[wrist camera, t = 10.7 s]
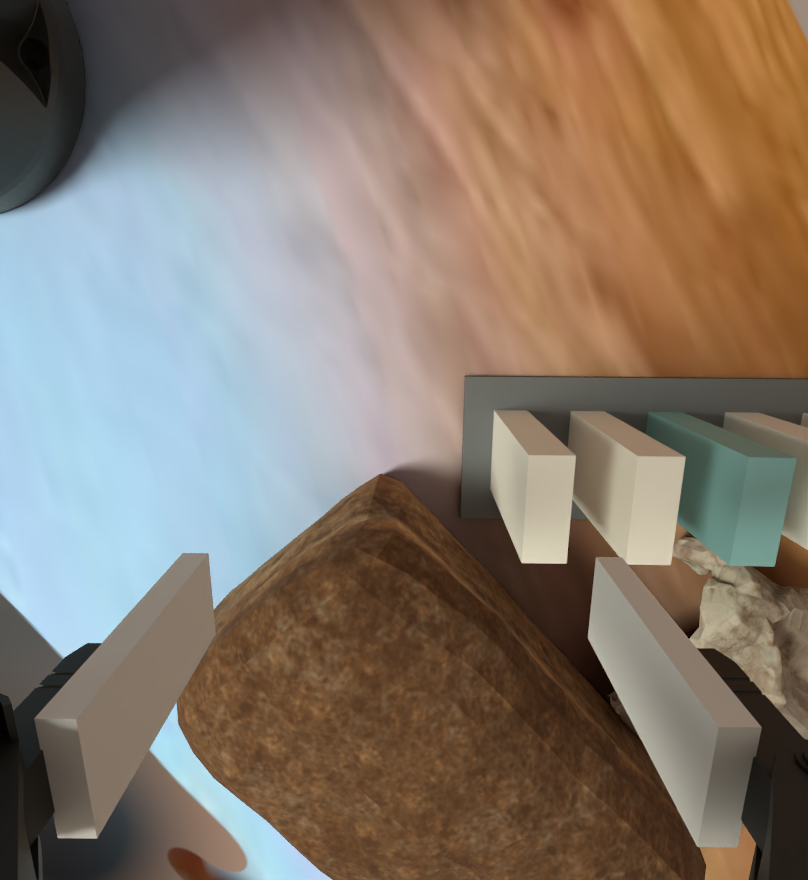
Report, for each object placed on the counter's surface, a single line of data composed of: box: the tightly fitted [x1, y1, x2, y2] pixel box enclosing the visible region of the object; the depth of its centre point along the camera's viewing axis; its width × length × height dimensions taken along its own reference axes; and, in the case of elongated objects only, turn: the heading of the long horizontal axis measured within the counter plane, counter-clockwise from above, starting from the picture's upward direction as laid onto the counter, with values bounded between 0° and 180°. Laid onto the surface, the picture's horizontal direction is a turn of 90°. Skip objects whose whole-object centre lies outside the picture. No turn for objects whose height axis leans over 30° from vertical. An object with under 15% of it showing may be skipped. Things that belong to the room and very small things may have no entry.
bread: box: [177, 474, 706, 880], centre depth 32 cm, size 17×30×13 cm, turn 41°
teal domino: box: [646, 411, 797, 567], centre depth 28 cm, size 2×5×10 cm, turn 179°
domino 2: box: [568, 411, 686, 565], centre depth 28 cm, size 2×5×10 cm, turn 179°
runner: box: [460, 376, 808, 520], centre depth 33 cm, size 24×9×1 cm, turn 90°
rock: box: [608, 537, 808, 740], centre depth 34 cm, size 24×9×15 cm
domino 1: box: [490, 410, 576, 564], centre depth 28 cm, size 2×5×10 cm, turn 0°
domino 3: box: [723, 412, 808, 550], centre depth 28 cm, size 2×5×10 cm, turn 0°
